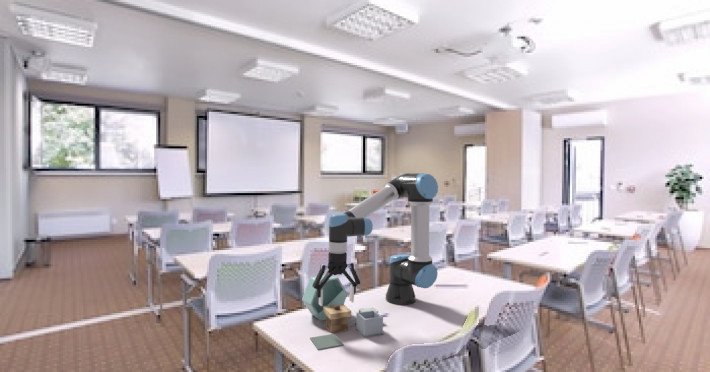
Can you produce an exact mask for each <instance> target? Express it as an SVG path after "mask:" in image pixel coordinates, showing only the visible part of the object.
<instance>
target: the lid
mask: <svg viewBox="0 0 710 372" xmlns="http://www.w3.org/2000/svg"><path fill="white" fill-rule="evenodd" d="M323 312H324V313H325V314H326V316H327V317H328V318H329V319H330V320H332V319H338V318H345V317H348V318H350V317H352V310H350V308H348V306H346V305H345V303H344V304H339V305H332V306H324V307H323Z"/></svg>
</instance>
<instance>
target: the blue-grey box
mask: <svg viewBox="0 0 710 372" xmlns="http://www.w3.org/2000/svg"><path fill="white" fill-rule="evenodd" d="M355 314H356V315H355V316H356V320H355V326H356V328H355V331H357V332H358V333H359V334H360V335H361V336H362V337H363V338H369V337H374V336H381V335H384V333H383V331H384V330H383V329H384V325H383V324H384V317H383V316H382V315H381V314H380V313H379V312H378V313H377V312H376V311H374V310H371V311H365V312H359V311H358V312H356V313H355Z"/></svg>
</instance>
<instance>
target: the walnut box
mask: <svg viewBox="0 0 710 372" xmlns="http://www.w3.org/2000/svg"><path fill="white" fill-rule="evenodd" d="M325 328H327V330H328V331H329V333H330V334H335V333H336V334H337V333H341V332H346V331H349V317H345V318H338V319H332V320H330V319H329V318H328V317H327V316H326V319H325Z"/></svg>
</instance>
